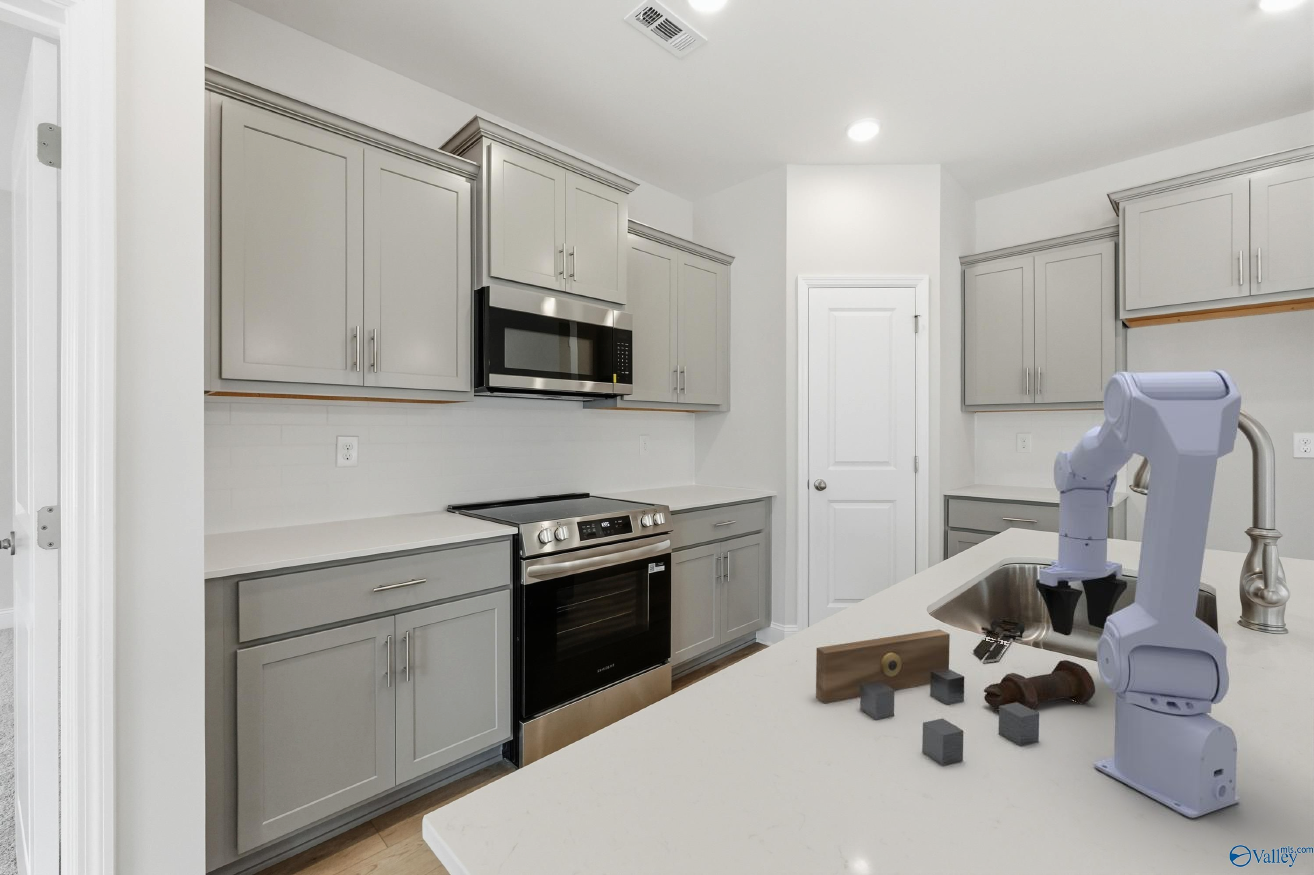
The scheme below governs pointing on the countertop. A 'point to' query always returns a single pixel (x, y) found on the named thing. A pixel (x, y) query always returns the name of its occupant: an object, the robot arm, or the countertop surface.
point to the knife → (999, 648)
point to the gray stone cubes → (940, 734)
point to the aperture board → (880, 663)
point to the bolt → (1043, 687)
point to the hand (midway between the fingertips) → (1080, 629)
